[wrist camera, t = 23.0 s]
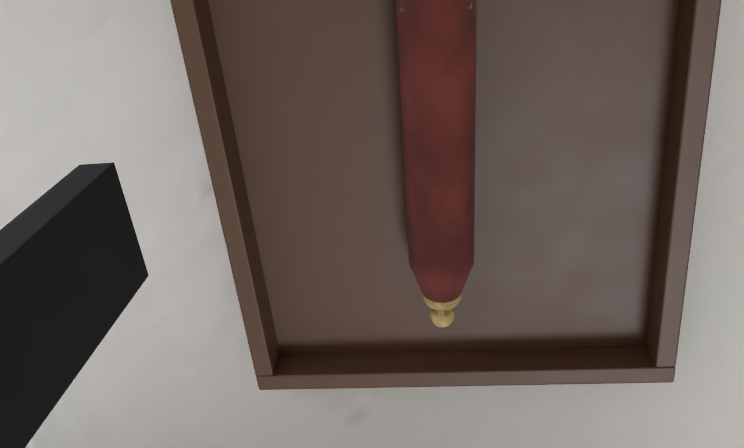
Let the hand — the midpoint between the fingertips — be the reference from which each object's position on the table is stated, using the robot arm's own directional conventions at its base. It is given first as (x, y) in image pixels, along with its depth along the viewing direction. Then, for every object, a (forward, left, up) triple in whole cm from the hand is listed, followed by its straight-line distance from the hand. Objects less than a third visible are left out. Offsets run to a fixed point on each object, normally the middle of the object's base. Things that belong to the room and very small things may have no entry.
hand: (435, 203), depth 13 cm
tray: (0, 0, -12) cm, 12 cm away
